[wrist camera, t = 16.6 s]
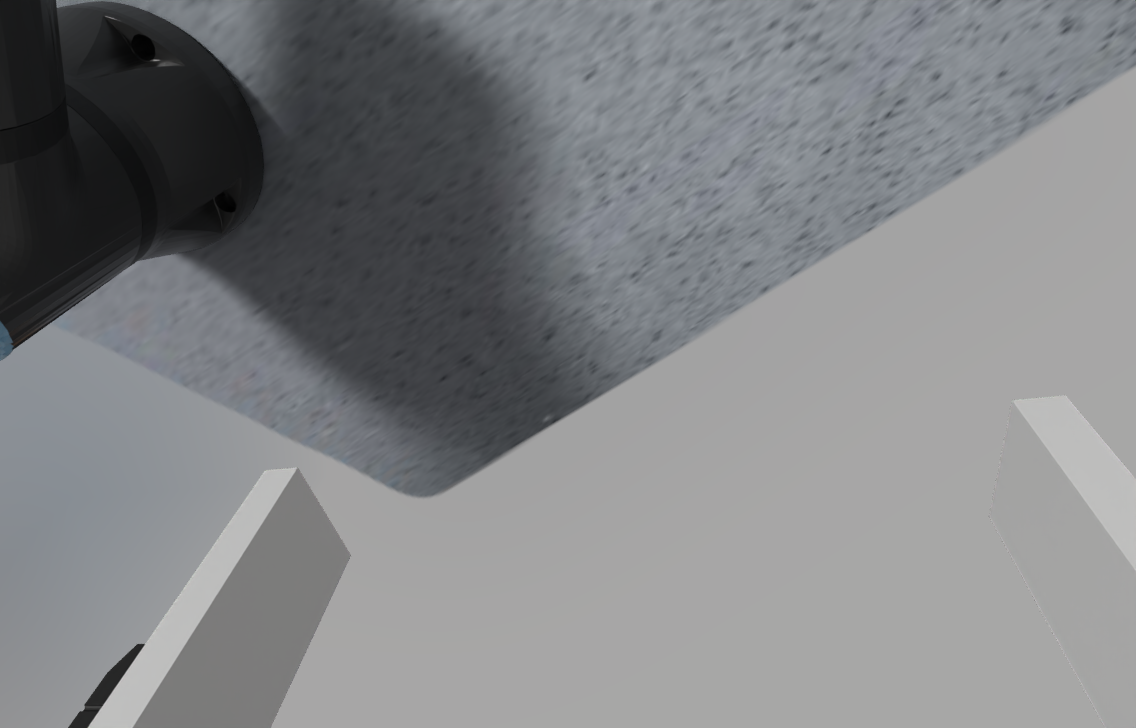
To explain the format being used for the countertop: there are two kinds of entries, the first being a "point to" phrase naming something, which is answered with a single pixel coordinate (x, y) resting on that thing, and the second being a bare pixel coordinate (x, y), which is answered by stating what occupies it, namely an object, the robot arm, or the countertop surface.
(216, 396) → the countertop surface
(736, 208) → the countertop surface
